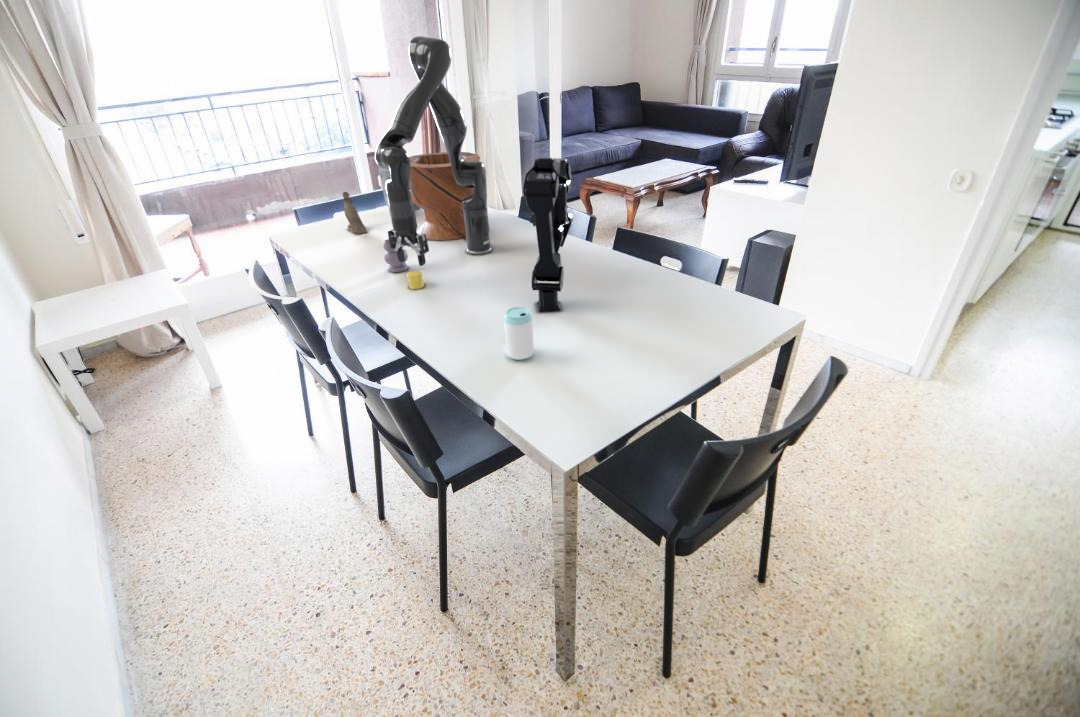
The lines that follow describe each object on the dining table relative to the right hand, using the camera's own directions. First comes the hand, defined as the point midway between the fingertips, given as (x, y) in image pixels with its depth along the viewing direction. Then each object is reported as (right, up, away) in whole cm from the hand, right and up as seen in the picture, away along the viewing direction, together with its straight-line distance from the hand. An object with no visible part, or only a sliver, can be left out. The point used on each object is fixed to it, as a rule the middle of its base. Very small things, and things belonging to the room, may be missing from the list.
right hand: (558, 251), depth 160 cm
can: (-11, -34, -33) cm, 49 cm away
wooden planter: (-46, +23, +60) cm, 79 cm away
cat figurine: (-57, -2, +21) cm, 61 cm away
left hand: (-48, -3, +3) cm, 48 cm away
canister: (-47, -10, +7) cm, 49 cm away
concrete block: (-75, +40, +90) cm, 124 cm away
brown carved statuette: (-88, +23, +64) cm, 111 cm away
